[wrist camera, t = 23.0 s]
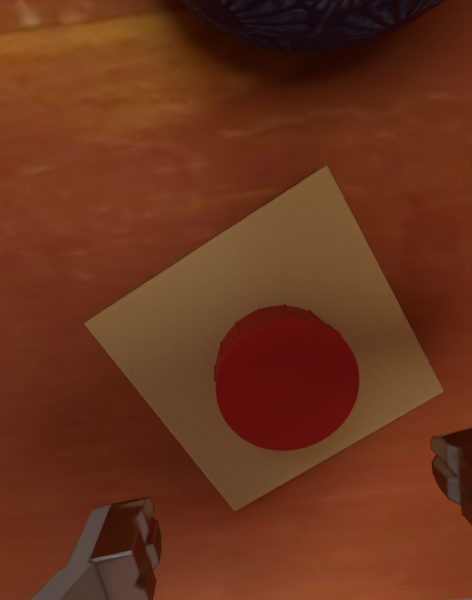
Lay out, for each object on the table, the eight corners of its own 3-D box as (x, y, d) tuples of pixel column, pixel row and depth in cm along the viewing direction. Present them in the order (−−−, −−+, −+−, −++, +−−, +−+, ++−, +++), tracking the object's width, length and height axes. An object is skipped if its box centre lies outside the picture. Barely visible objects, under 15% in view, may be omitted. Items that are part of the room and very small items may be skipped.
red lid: (203, 409, 17) (200, 438, 15) (232, 291, 16) (235, 302, 13) (319, 431, 18) (334, 462, 15) (357, 320, 16) (380, 335, 14)
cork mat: (435, 384, 18) (444, 391, 17) (233, 501, 19) (234, 512, 18) (321, 167, 15) (327, 164, 14) (89, 319, 16) (83, 323, 15)
